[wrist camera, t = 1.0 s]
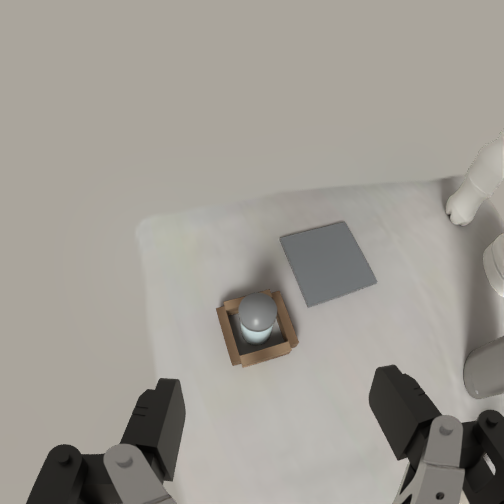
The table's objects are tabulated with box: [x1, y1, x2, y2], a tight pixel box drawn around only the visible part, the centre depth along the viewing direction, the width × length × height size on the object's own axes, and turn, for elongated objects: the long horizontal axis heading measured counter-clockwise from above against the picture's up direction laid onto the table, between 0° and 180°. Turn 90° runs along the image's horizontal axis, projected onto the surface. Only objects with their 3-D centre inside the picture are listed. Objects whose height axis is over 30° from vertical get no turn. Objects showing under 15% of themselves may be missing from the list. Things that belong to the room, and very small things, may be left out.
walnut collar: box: [216, 289, 299, 368], centre depth 37 cm, size 9×9×2 cm
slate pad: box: [280, 222, 377, 307], centre depth 43 cm, size 12×12×1 cm
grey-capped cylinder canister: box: [238, 293, 277, 345], centre depth 34 cm, size 4×4×8 cm
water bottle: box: [446, 130, 504, 226], centre depth 39 cm, size 7×7×25 cm
